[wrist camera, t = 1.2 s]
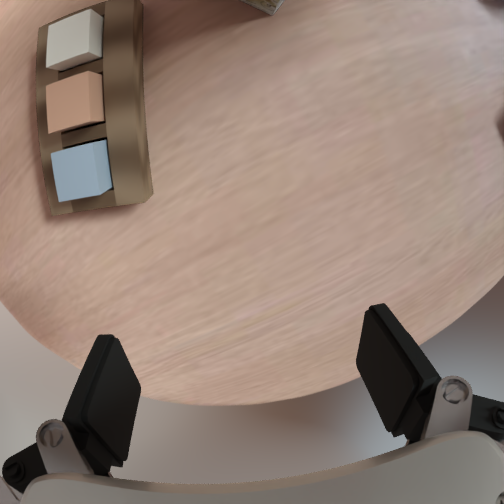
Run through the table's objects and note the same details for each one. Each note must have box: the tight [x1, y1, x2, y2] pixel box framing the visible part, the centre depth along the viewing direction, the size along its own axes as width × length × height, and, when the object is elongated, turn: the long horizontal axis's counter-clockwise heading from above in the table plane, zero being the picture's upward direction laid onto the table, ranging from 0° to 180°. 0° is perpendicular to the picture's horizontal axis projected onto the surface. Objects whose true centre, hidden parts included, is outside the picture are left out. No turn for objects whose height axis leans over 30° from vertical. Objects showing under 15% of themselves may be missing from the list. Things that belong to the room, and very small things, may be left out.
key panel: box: [36, 0, 153, 216], centre depth 24 cm, size 23×12×4 cm, turn 3°
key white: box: [46, 9, 104, 71], centre depth 18 cm, size 5×5×4 cm
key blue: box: [51, 140, 113, 202], centre depth 24 cm, size 5×5×4 cm
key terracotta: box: [46, 71, 105, 134], centre depth 21 cm, size 5×5×4 cm
